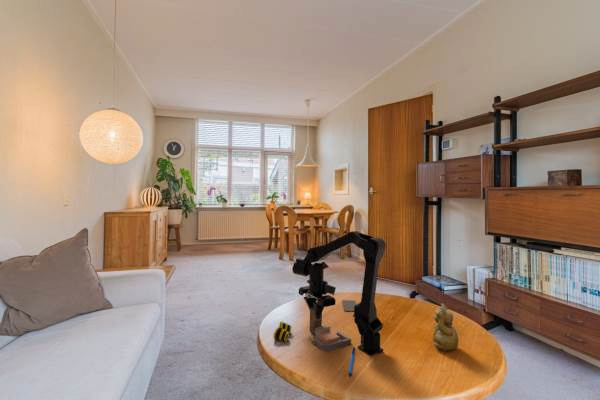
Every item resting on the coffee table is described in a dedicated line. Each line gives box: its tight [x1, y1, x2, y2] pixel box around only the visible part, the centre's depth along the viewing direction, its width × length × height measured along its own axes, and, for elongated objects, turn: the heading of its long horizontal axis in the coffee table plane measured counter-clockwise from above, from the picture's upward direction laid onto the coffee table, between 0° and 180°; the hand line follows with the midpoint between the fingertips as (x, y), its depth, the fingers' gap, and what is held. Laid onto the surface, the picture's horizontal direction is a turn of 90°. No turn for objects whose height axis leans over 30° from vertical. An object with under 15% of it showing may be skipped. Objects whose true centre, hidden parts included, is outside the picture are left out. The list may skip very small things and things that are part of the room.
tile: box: [316, 330, 341, 345], centre depth 114 cm, size 6×6×2 cm
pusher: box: [308, 307, 331, 339], centre depth 120 cm, size 8×6×9 cm
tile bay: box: [312, 331, 352, 352], centre depth 112 cm, size 8×12×2 cm, turn 120°
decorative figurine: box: [433, 303, 460, 353], centre depth 109 cm, size 10×8×15 cm
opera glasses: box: [273, 320, 292, 342], centre depth 117 cm, size 10×5×5 cm, turn 170°
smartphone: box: [341, 299, 357, 313], centre depth 151 cm, size 7×1×15 cm
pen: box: [348, 346, 356, 379], centre depth 99 cm, size 1×19×1 cm, turn 166°
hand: (315, 317), depth 121 cm, fingers closed on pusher, 3 cm apart
